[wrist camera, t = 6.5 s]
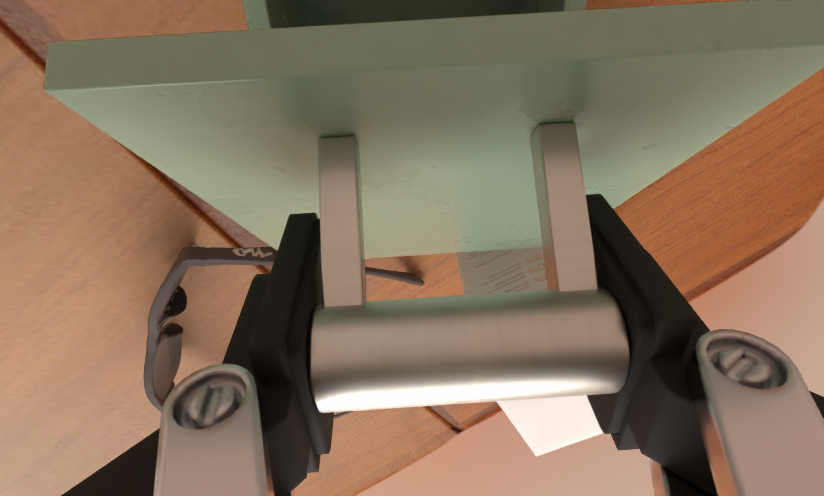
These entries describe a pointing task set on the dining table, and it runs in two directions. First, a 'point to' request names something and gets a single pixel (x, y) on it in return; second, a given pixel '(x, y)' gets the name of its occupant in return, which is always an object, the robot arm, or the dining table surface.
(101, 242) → the dining table surface
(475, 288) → the small box
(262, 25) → the green storage bin
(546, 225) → the bin lid
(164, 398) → the sunglasses
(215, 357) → the dining table surface
